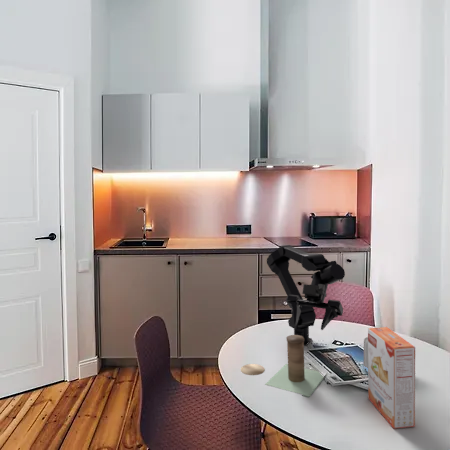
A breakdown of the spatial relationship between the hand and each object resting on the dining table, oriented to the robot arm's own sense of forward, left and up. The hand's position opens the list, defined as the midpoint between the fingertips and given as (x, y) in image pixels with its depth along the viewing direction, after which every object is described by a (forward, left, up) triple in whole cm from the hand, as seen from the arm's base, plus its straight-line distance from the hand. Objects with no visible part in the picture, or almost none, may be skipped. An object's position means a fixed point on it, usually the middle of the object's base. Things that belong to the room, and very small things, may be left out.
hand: (308, 327), depth 130 cm
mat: (+11, 0, -14) cm, 17 cm away
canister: (+10, 0, -13) cm, 17 cm away
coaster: (+12, -15, -14) cm, 23 cm away
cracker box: (+16, +28, -14) cm, 35 cm away
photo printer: (-9, +20, -14) cm, 26 cm away
